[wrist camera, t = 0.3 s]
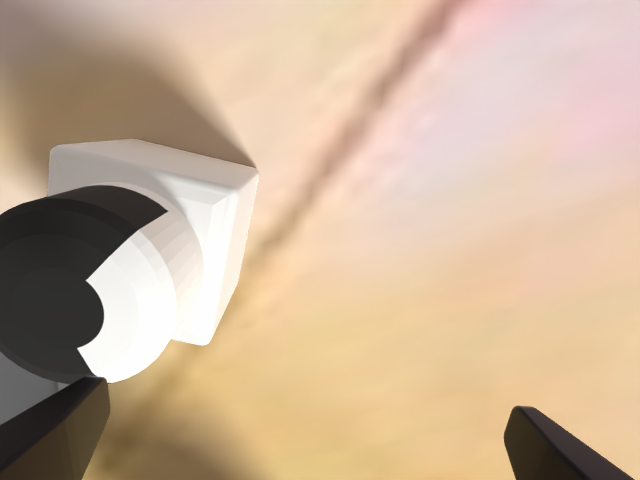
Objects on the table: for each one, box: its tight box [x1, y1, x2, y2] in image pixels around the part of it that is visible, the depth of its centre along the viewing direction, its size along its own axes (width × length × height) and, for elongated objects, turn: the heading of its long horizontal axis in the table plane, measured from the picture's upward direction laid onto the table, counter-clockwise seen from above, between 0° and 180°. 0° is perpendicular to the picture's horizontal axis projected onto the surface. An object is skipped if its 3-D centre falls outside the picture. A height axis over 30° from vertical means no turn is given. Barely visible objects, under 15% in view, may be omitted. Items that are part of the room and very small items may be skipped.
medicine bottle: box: [0, 139, 260, 384], centre depth 17 cm, size 7×7×12 cm
